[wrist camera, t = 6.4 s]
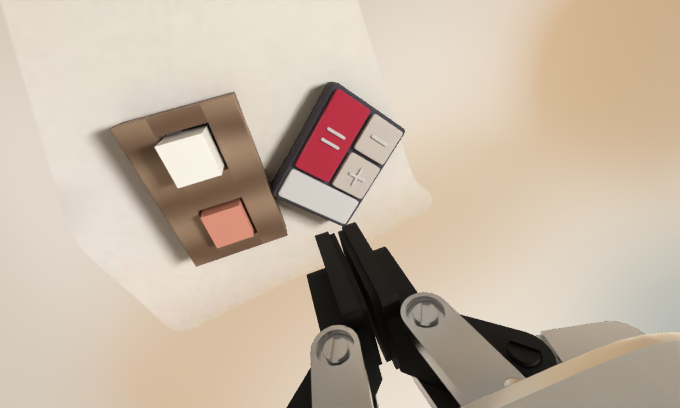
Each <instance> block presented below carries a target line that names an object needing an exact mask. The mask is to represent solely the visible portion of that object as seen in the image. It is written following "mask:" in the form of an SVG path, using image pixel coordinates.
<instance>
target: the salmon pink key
mask: <svg viewBox="0 0 680 408" xmlns="http://www.w3.org/2000/svg"><path fill="white" fill-rule="evenodd" d="M200 219H201V220H202V222H203V224H204V226H205V228H206V229H207V231H208V233H209V235H210V237H211V238H212V240H213V242H214V244H215V246H216V247H217V248H220V247H223V246H226V245H229V244H232V243H235V242H238V241H241V240H244V239H247V238H250V237H253V236H254V232H253V221H252V219H251V217H250V214H249V212H248V210H247V208H246V206H245V203H244V201H243V199H242V197H240V198H237V199H234V200H231V201H228V202H225V203H221V204H218V205H215V206H212V207H209V208H206V209H203V211H202V214H201V217H200Z"/></svg>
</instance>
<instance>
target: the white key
mask: <svg viewBox="0 0 680 408" xmlns="http://www.w3.org/2000/svg"><path fill="white" fill-rule="evenodd" d="M155 149H156V151H157V153H158V154H159V156H160V158H161V160H162V161H163V163H164V165H165V167H166V168H167V170H168V172H169V174H170V175H171V177H172V179H173V181H174V182H175V184H176V186H177V188H181V187H185V186H188V185H191V184H194V183H198V182H201V181H204V180H207V179H211V178H214V177H217V176H220V175H222V172H223V168H224V164H225V162H224V160H223V157H222V155H221V153H220V151H219V149H218V146H217V144H216V142H215V140H214V138H213V135H212V133H211V131H210V129H209V127H208V125H204V126H201V127H197V128H194V129H190V130H187V131H183V132H180V133H176V134H172V135H169V136H165V137H164V138H163V139H162V140H161V141H160V142H159V143H158V144H157V145H156V146H155Z"/></svg>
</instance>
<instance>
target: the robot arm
mask: <svg viewBox="0 0 680 408" xmlns="http://www.w3.org/2000/svg"><path fill="white" fill-rule="evenodd" d="M338 234H339V237H340V241H341V245H342V248H343V251H342V249H341V247H340V245H339V242H338V240H337V238H336V236H335V234H334V233H333V234H330V235H329V233H328V232H325V233H322V234H319V235H316V236H315V238H316V241H317V244H318V247H319V250H320V253H321V256H322V259H323V262H324V265H325V268H324V269H321V270H319V271H316V272H313V273H310V274H307V279H308V283H309V287H310V291H311V295H312V300H313V304H314V308H315V312H316V316H317V320H318V324H319V328H320V333H319V334H318V335H317V336H316V338H315V339H314V341H313V343H312V346H311V368H310V370H309V371H308V373H307V375H306V376H305V378H304V380H303V381H302V383H301V385H300V387H299V388H298V390H297V391H296V393H295V395H294V396H293V398H292V400H291V401H290V403H289V405H288V406H287V408H379V405H378V401H377V397H376V394H377V391H378V389H379V386H380V384H381V381H382V376H381V372H380V369H379V365H381V364H382V362H381V358H380V354H379V350H378V346H377V342H378V344H379V346H380V349H381V351H382V353H383V355H384V358H385V360H386V361H387V362H388V361H391V360H392V361H393V364H394V366H395V368H396V369H400V371H401V372H403V373H406V374H408V375H411V376H412V377H413V380H414V382H415V383H416V385H417V386H418V388H419V389H420V391H421V392H422V394H423V395H424V397H425V398H426V400H427V401H428V403H429V404H430V405H431V407H432V408H680V332H667V333H652V334H646V335H645V334H644V333H643V332H641V331H640V330H639V329H636V328H634V327H632V326H630V325H628V324H625V323H620V322H617V321H604V322H598V323H591V324H585V325H579V326H572V327H566V328H559V329H552V330H546V331H541V335H536V336H534V335H532V334H529V333H526V332H523V331H520V330H516V329H512V328H508V327H505V326H501V325H497V324H494V323H490V322H486V321H483V320H479V319H474V318H471V317H468V316H463V315H460V314H459V313H457V312H456V311H455V310H454V309H453V308H452V307H451V306H450V305H449V304H448V303H447V302H446V301H445V300H444V299H442V298H441V297H439V296H438V295H435V294H433V293H426V292H422V293H417V291H416V290H415V288H414V287H413V285H412V284H411V282H410V281H409V280H408V278H407V277H406V275H405V274H404V272H403V271H402V269H401V268H400V267H399V265H398V264H397V262H396V261H395V259H394V258H393V256H392V255H391V254H390V252H389V251H388V249H387V248H386V247H382V248H379V249H377V250H374V251H373V250H372V249H371V248H370V245H369V244H368V242H367V240H366V239H365V237H364V235H363V234H362V232H361V231H360V229H359V227H358V226H357V224H356V223H355V222H354V223H351V224H348V225H345V226H342V231H339V232H338ZM343 252H344V253H343ZM344 255H345V256H344ZM375 337H376V338H375ZM376 339H377V342H376Z"/></svg>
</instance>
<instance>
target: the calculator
mask: <svg viewBox="0 0 680 408" xmlns="http://www.w3.org/2000/svg"><path fill="white" fill-rule="evenodd" d="M404 132H405V130H404V129H403V128H402V127H401V126H399V125H398V124H396V123H395V122H393V121H392V120H391V119H389V118H388V117H386V116H385V115H383V114H382V113H381V112H379V111H378V110H376V109H375V108H373V107H372V106H370V105H369V104H368V103H366V102H365V101H363V100H362V99H360V98H359V97H358V96H356V95H355V94H353V93H352V92H350V91H349V90H348V89H346V88H345V87H343V86H342V85H340V84H339V83H336V82H329V83H328V84H327V85H326V87H325V89H324V91H323V92H322V94H321V96H320V98H319V100H318V101H317V103H316V105H315V107H314V108H313V110H312V112H311V114H310V116H309V117H308V119H307V121H306V123H305V125H304V127H303V128H302V130H301V132H300V134H299V136H298V138H297V139H296V141H295V143H294V145H293V147H292V149H291V150H290V152H289V154H288V156H287V157H286V159H285V160H284V162H283V164H282V165H281V167H280V169H279V171H278V173H277V174H276V176H275V178H274V180H273V181H272V183H271V187H272V191H273V195H274V196H275V197H276V198H279V199H281V200H283V201H286V202H288V203H290V204H293V205H295V206H297V207H299V208H302V209H304V210H306V211H309V212H311V213H313V214H315V215H318V216H320V217H322V218H325V219H327V220H329V221H332V222H334V223H336V224H338V225H341V226H345V225H347V223H348V222H349V220H350V219H351V217H352V215H353V214H354V212H355V211H356V209H357V208H358V206H359V204H360V203H361V201H362V200H363V198H364V197H365V195H366V193H367V192H368V190H369V189H370V187H371V185H372V184H373V182H374V181H375V179H376V178H377V176H378V174H379V173H380V171H381V170H382V168H383V166H384V165H385V163H386V162H387V160H388V159H389V157H390V155H391V154H392V152H393V151H394V149H395V147H396V146H397V144H398V143H399V141H400V140H401V138H402V136H403V135H404Z"/></svg>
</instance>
